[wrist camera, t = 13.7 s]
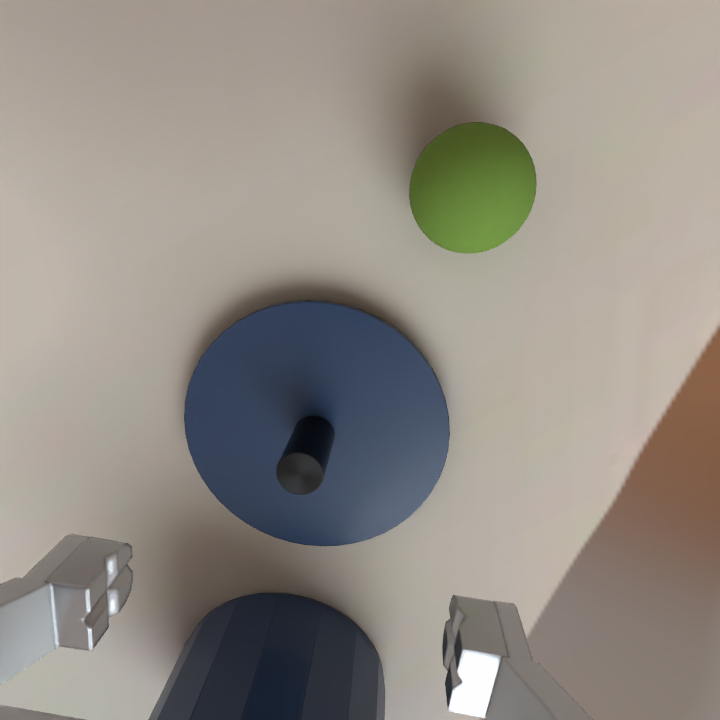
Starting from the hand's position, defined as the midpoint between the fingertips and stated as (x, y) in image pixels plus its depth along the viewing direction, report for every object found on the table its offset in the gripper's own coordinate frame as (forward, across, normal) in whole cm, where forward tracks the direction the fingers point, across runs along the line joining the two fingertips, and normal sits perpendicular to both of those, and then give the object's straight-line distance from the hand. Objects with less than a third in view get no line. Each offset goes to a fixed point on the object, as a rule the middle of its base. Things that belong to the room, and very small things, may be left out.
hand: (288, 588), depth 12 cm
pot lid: (+16, +2, +4) cm, 17 cm away
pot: (+17, +2, +24) cm, 29 cm away
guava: (+14, -4, -10) cm, 18 cm away
